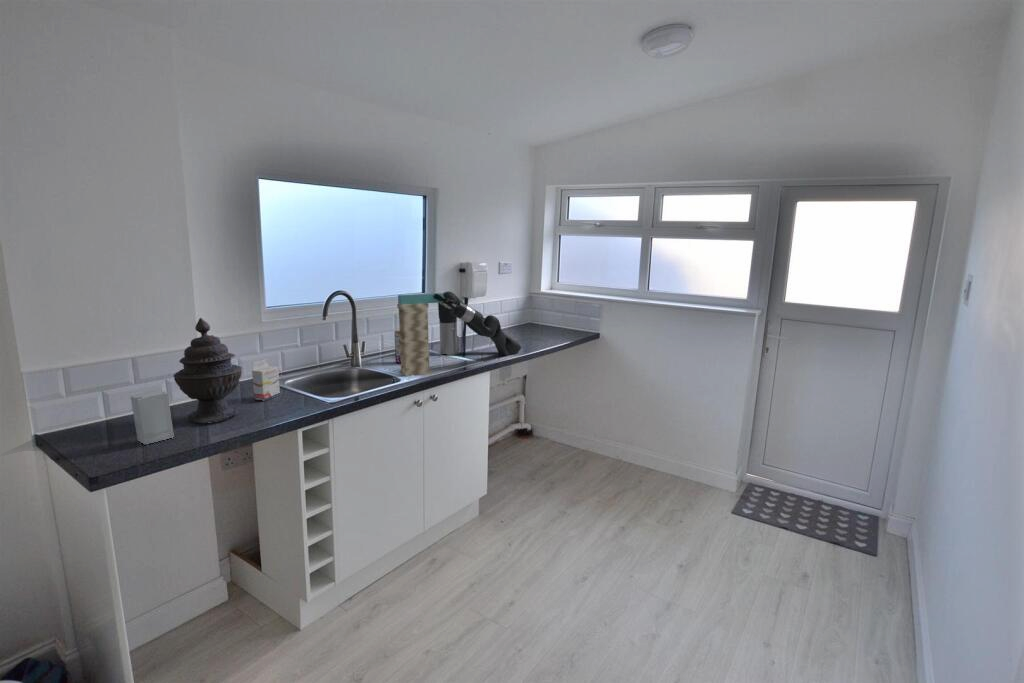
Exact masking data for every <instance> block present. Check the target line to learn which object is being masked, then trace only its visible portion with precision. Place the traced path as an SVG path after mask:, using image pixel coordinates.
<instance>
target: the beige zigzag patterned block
mask: <svg viewBox="0 0 1024 683" xmlns="http://www.w3.org/2000/svg"><path fill="white" fill-rule="evenodd" d="M396 304H397V305H396V306H397V309H398V323H399V324H398V325H399V326H398V327H399V328H398V329H399V330H400V354H401V363H400V369H399V371H400V372H399V374H400V373H401V375H402V374H403V375H402V376H403V377H405V376H406V377H413V376H412V375H414V376H420V375H419V374H421V375H427V374H428V373H429V374H431V373H432V372H431V369H430V349H429V348H430V347H429V345H430V344H429V320H428V319H429V314H428V309H429V303H424V304H408V305H400V304H398V303H396Z"/></svg>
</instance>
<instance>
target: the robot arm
mask: <svg viewBox="0 0 1024 683" xmlns="http://www.w3.org/2000/svg"><path fill="white" fill-rule="evenodd" d="M442 293H443V298H442V296H440V295H438V294H435V295H434V298H435V299H437V300H439V301H441V302H440V303H437V309H438V319H439V346H440V347H439V351H440V353H441V354H447V355H446V356H455V355H458V354H460V340H459V339H460V338H459V335H458V320H461V321H462V322H464V323H465V325H466V326H467V327H468V328H470V330H471V331H472V332H474V333H476V335H477V336H481V337H486V338H490V339H491V341H492V342H493V344H494V346H495V348H496V350H497V352H498V354H499V355H500V356H501V357H510V356H514V355H515V354H516V355H518V354H519V352H520V351H521V349H522V347H521V344H520V343H518V341H516V340H515V339H513V338H512V337H510V336H509V335H507V334H506V333H504V331H503V330H502V327H501V322H500V320H499V319H498V317H496V316H495V315H491V314H490V315H487V316H485V317H484V315H483V313H482V312H480V311H478V310H476V309H475V308H474V307H472V306H470V305H468V304H467V303H465V302H464V301H462V300H461V299H460V298H459V297H458V296H457V294H455V293H453V292H452V291H445V292H442ZM441 354H440V355H441Z"/></svg>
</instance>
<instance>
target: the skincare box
mask: <svg viewBox="0 0 1024 683" xmlns="http://www.w3.org/2000/svg"><path fill="white" fill-rule="evenodd" d="M130 400H131V407H132V413H133V420H134V425H135V426H134V427H135V431H136V439H137V441H140V442H141V443H143V444H149V443H154V442H158V441H161V440H165V441H167V440H166V439H169V438H172V439H174V438H175V435H174V427H173V421H172V414H171V413H172V412H171V408H170V400H169V393H168V392H166V391H164V390H162V389H156V390H152V391H148V392H143V393H137V394H133V395H130ZM173 437H174V438H173ZM169 440H170V439H169ZM161 442H162V441H161ZM141 443H140V444H141ZM158 443H159V442H158ZM154 444H155V443H154Z"/></svg>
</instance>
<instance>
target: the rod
mask: <svg viewBox="0 0 1024 683" xmlns="http://www.w3.org/2000/svg"><path fill="white" fill-rule="evenodd" d="M443 293H444V292H430V293H412V294H410V293H409V294H397V302H398V303H397V304H400V305H408V304H424V303H428V304H438V303H440V302H441V301H439V300H437V299H435V298H434V295H435V294H438V295H440V296H442V298H443Z"/></svg>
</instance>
